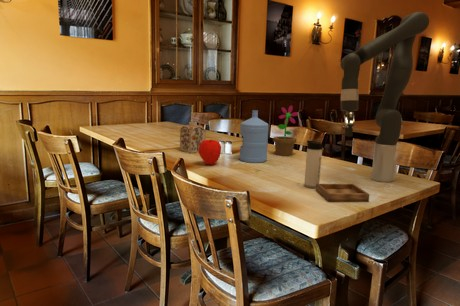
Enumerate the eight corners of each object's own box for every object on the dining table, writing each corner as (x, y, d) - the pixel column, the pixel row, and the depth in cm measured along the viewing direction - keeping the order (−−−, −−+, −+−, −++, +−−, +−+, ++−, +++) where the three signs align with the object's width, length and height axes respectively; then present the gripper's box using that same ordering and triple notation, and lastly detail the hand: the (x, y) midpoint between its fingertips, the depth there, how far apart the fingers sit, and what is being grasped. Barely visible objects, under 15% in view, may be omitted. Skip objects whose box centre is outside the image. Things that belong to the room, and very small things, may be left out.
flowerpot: (298, 154, 223) (302, 105, 217) (291, 158, 211) (294, 107, 205) (276, 151, 230) (279, 104, 224) (268, 155, 217) (271, 105, 211)
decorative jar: (179, 150, 223) (179, 121, 219) (194, 148, 230) (194, 120, 227) (190, 153, 214) (190, 123, 210) (205, 151, 222) (206, 122, 218)
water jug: (271, 159, 204) (274, 110, 199) (258, 164, 192) (260, 112, 186) (248, 155, 213) (250, 108, 207) (233, 160, 200) (235, 110, 195)
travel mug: (301, 184, 157) (305, 139, 153) (316, 184, 158) (320, 139, 154) (305, 188, 151) (309, 141, 147) (320, 188, 152) (324, 142, 148)
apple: (194, 164, 186) (194, 139, 184) (206, 160, 197) (206, 136, 194) (213, 168, 181) (214, 142, 178) (224, 163, 191) (225, 139, 189)
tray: (352, 190, 150) (353, 183, 150) (368, 201, 137) (369, 194, 136) (315, 190, 149) (316, 183, 148) (328, 201, 135) (329, 194, 134)
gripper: (360, 98, 152) (359, 136, 153) (356, 100, 166) (355, 135, 167) (342, 99, 153) (341, 136, 155) (339, 101, 167) (339, 135, 169)
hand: (348, 136), depth 161 cm, fingers open, 8 cm apart
